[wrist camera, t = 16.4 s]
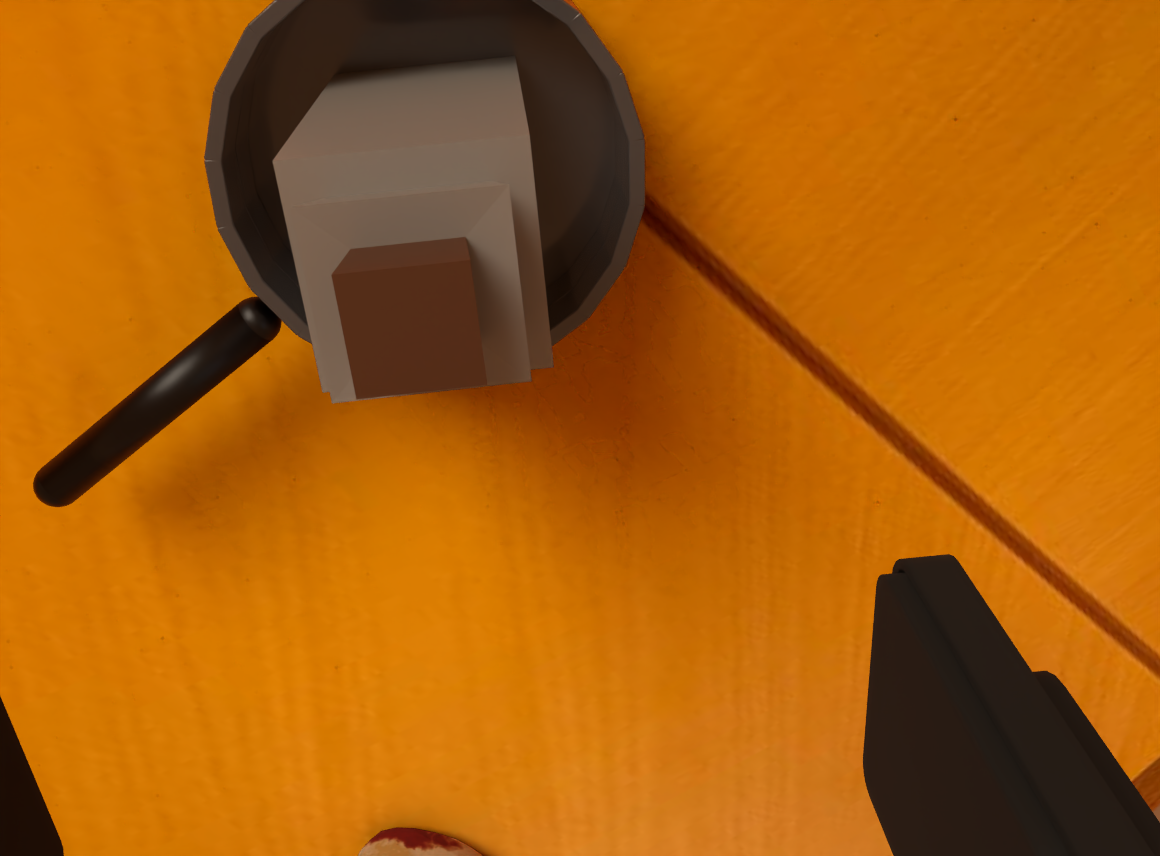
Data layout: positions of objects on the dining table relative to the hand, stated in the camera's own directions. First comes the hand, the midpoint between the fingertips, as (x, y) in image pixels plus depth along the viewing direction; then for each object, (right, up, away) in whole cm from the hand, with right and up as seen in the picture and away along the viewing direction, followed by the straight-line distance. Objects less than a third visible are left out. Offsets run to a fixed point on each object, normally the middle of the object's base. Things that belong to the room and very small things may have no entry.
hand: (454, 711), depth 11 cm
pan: (-4, +14, +31) cm, 34 cm away
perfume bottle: (-4, +14, +30) cm, 34 cm away
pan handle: (-15, +4, +31) cm, 35 cm away
